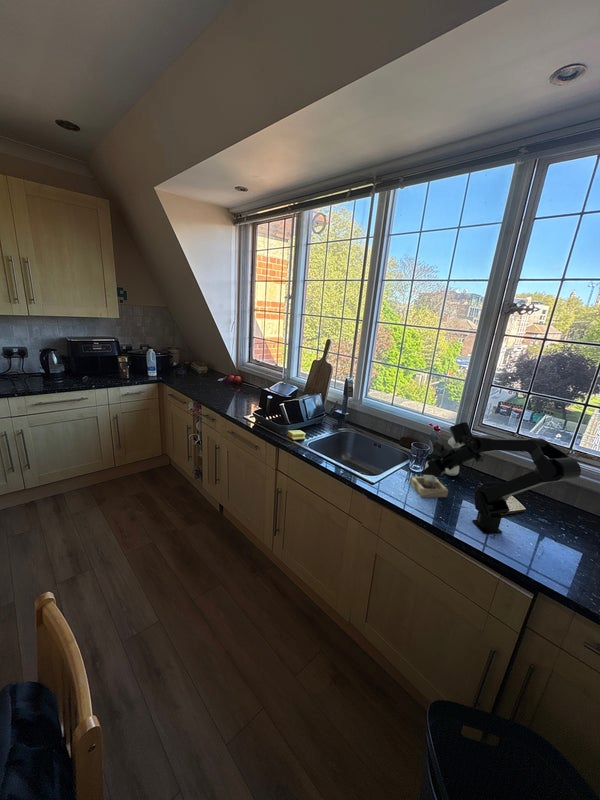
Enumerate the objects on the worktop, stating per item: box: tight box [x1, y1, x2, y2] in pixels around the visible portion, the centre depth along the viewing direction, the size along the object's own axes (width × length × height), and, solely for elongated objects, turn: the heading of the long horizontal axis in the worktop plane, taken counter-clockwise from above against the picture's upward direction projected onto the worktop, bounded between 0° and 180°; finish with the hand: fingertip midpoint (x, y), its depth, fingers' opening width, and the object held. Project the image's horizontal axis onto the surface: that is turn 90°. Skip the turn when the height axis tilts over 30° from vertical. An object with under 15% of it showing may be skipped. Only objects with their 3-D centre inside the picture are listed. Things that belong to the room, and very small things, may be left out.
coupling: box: [421, 460, 438, 489], centre depth 126 cm, size 7×6×11 cm
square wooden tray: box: [409, 476, 449, 498], centre depth 128 cm, size 10×10×3 cm
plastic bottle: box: [444, 436, 463, 477], centre depth 140 cm, size 6×7×20 cm
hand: (427, 470), depth 127 cm, fingers open, 8 cm apart
